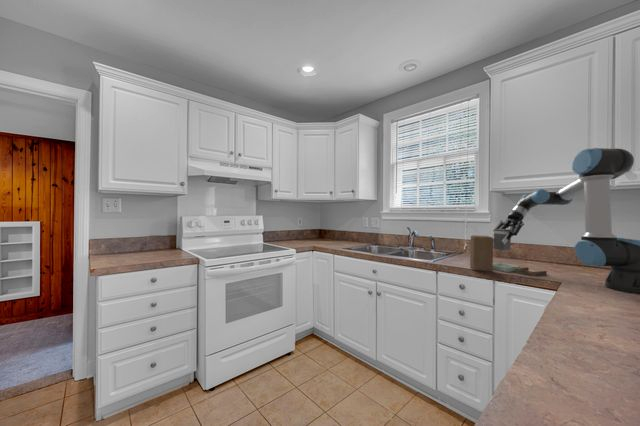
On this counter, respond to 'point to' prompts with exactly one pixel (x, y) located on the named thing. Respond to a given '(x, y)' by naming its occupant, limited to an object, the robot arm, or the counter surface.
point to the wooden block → (481, 253)
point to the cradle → (526, 271)
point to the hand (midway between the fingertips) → (497, 242)
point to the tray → (504, 267)
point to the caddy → (498, 238)
